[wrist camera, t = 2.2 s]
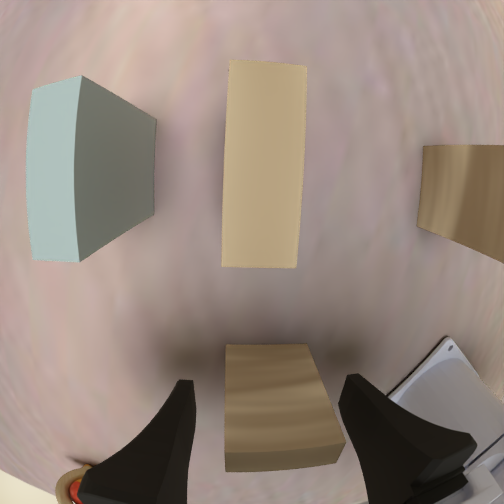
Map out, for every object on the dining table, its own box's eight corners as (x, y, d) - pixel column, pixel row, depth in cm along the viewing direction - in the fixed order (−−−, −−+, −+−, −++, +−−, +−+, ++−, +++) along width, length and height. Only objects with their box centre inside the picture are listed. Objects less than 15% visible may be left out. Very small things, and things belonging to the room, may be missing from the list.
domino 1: (156, 119, 11) (82, 75, 5) (154, 214, 12) (79, 262, 6) (124, 122, 11) (32, 89, 4) (122, 214, 12) (33, 259, 6)
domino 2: (267, 120, 12) (307, 66, 5) (263, 216, 13) (296, 268, 6) (231, 118, 12) (229, 59, 5) (227, 215, 13) (221, 267, 6)
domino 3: (225, 344, 15) (224, 452, 8) (306, 343, 15) (346, 442, 8) (225, 367, 15) (225, 472, 8) (302, 365, 15) (335, 462, 9)
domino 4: (443, 151, 12) (541, 157, 6) (436, 228, 14) (529, 267, 7) (423, 146, 12) (525, 146, 6) (416, 226, 13) (512, 267, 7)
